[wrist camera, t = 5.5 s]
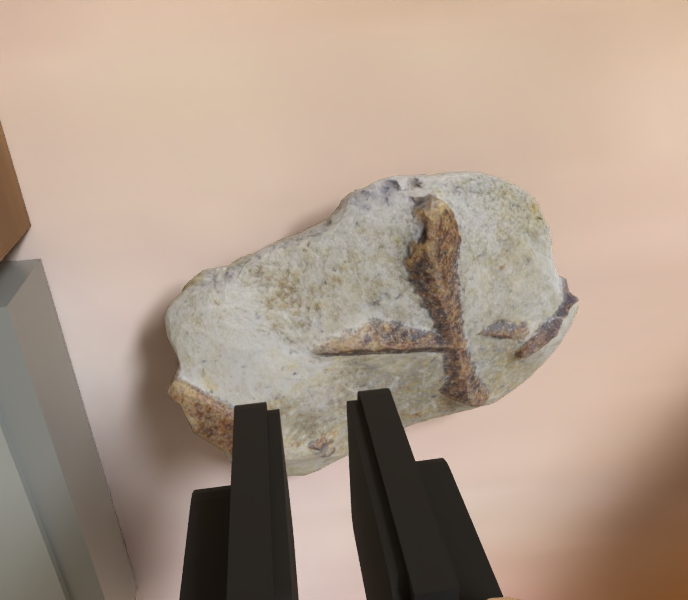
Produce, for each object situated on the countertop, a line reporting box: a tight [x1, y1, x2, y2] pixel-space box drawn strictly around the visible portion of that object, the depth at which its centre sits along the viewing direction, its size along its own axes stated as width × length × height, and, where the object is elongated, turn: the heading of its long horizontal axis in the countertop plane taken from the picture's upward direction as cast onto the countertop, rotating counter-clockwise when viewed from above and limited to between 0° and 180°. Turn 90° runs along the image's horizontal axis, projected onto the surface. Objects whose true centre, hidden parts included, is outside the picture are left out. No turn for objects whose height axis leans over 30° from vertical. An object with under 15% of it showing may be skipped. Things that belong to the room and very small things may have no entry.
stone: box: [164, 172, 579, 476], centre depth 18 cm, size 12×9×3 cm
